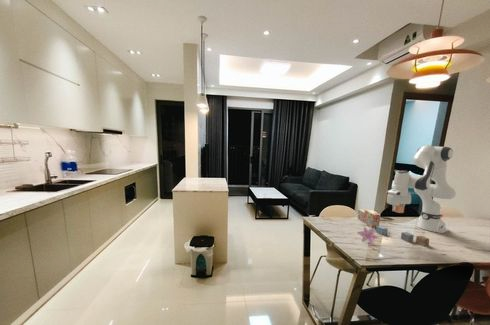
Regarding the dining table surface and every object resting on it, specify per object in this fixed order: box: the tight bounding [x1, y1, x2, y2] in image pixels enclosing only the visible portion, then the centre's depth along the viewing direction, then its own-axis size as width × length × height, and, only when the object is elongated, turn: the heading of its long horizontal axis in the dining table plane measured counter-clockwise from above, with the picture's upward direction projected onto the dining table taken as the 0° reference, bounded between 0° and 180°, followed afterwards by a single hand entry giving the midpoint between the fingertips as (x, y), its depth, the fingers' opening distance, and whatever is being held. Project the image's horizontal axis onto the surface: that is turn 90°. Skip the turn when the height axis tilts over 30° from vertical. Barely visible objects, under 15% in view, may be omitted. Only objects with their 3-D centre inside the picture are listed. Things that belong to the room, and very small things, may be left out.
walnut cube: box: [415, 235, 430, 247], centre depth 142 cm, size 5×5×5 cm
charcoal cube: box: [400, 231, 414, 243], centre depth 148 cm, size 5×5×5 cm
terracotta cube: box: [391, 204, 405, 214], centre depth 151 cm, size 5×5×5 cm
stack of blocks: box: [357, 208, 381, 229], centre depth 178 cm, size 21×6×12 cm, turn 0°
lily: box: [356, 226, 379, 246], centre depth 143 cm, size 12×12×10 cm
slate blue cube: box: [375, 225, 388, 236], centre depth 158 cm, size 5×5×5 cm
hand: (398, 209), depth 151 cm, fingers closed on terracotta cube, 5 cm apart
